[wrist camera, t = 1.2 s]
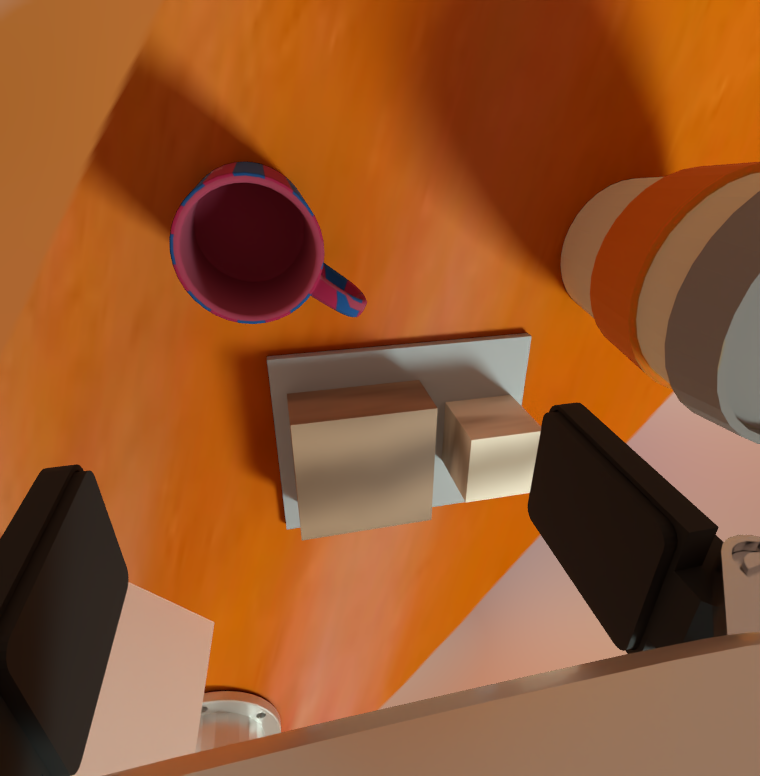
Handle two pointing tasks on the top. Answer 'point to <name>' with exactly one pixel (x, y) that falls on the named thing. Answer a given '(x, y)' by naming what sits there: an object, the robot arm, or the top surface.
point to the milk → (149, 686)
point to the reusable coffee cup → (678, 284)
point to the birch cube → (489, 447)
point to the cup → (254, 248)
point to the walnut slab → (363, 457)
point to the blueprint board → (398, 364)
